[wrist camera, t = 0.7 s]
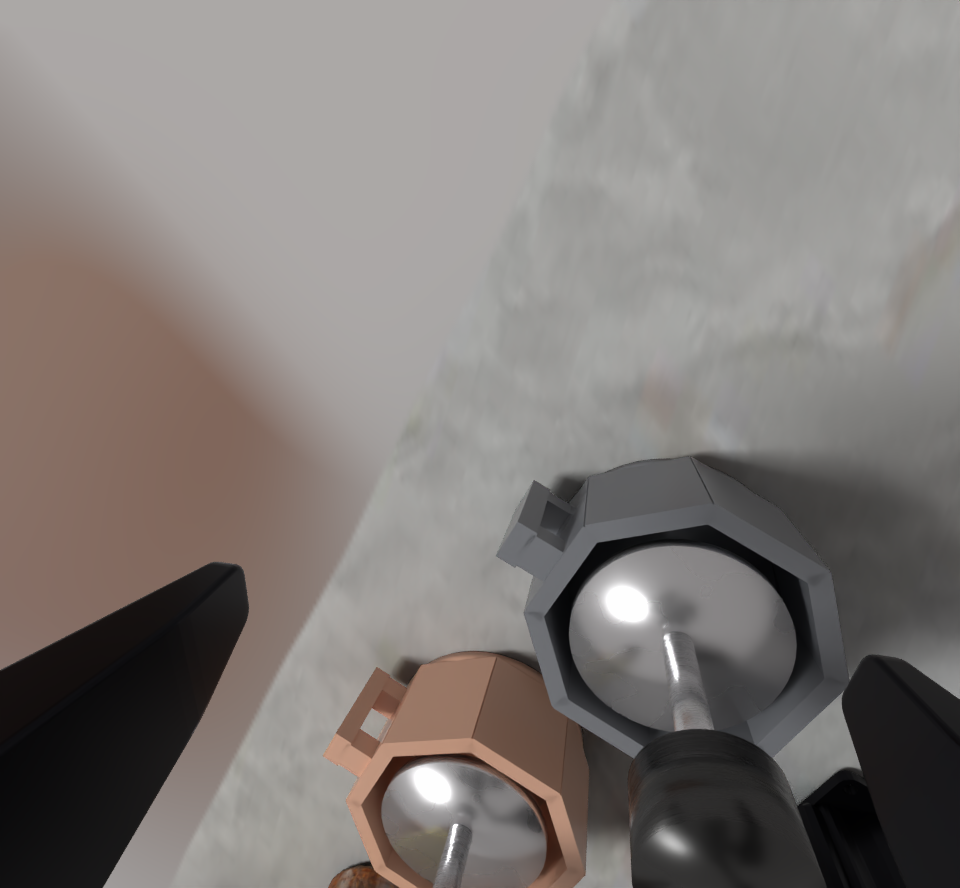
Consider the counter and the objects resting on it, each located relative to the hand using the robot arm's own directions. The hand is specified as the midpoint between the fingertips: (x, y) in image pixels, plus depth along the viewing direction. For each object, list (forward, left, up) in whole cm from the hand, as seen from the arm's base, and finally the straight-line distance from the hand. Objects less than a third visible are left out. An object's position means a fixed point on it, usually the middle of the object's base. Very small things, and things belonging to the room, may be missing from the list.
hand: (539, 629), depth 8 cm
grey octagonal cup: (-5, +3, -13) cm, 14 cm away
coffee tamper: (-5, +3, -8) cm, 10 cm away
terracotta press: (-4, +15, -13) cm, 20 cm away
